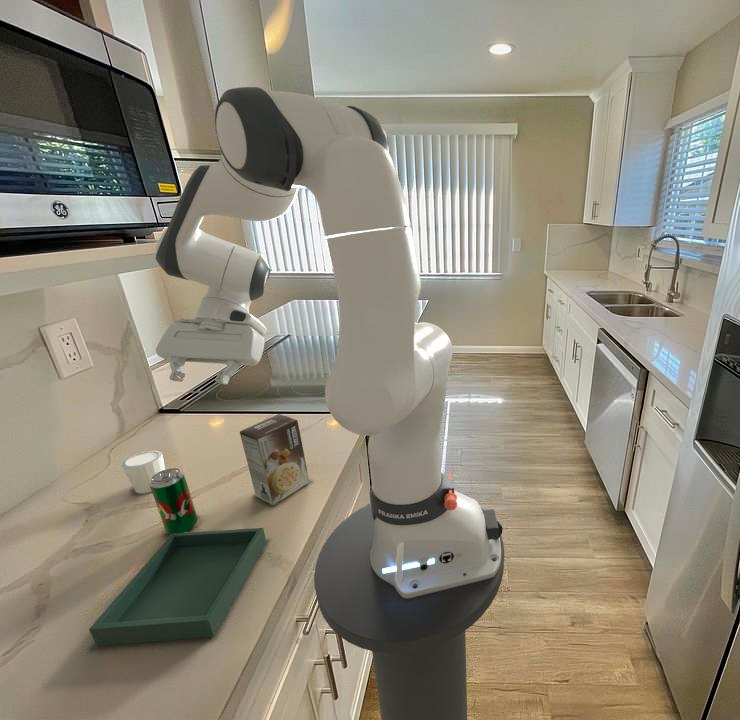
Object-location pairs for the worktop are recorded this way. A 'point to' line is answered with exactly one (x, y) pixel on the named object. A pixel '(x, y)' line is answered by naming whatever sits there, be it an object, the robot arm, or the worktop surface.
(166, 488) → the soda can
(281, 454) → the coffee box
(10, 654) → the worktop surface
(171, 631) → the tray
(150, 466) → the white cup
